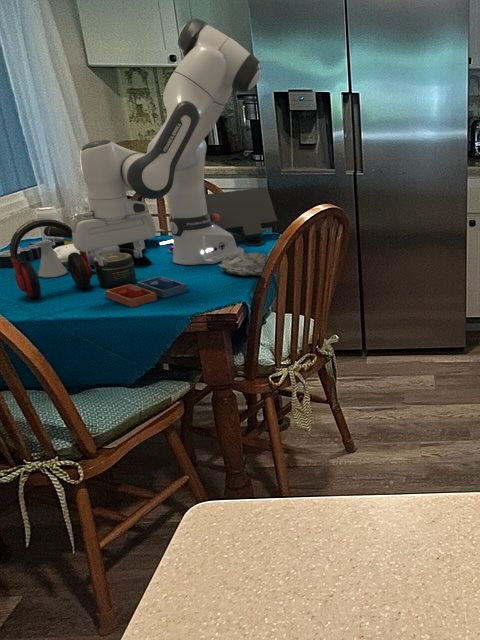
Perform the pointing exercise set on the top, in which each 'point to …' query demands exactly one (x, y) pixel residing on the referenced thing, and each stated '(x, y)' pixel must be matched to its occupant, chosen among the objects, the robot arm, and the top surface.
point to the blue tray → (175, 290)
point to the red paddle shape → (131, 292)
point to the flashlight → (56, 232)
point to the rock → (244, 263)
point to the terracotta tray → (146, 298)
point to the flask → (50, 261)
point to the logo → (28, 252)
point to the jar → (115, 270)
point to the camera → (243, 211)
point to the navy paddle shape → (162, 284)
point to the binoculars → (65, 251)
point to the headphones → (26, 271)
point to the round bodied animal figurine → (102, 252)
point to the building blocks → (170, 249)
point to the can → (47, 213)
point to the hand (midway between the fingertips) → (121, 261)
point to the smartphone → (136, 260)
